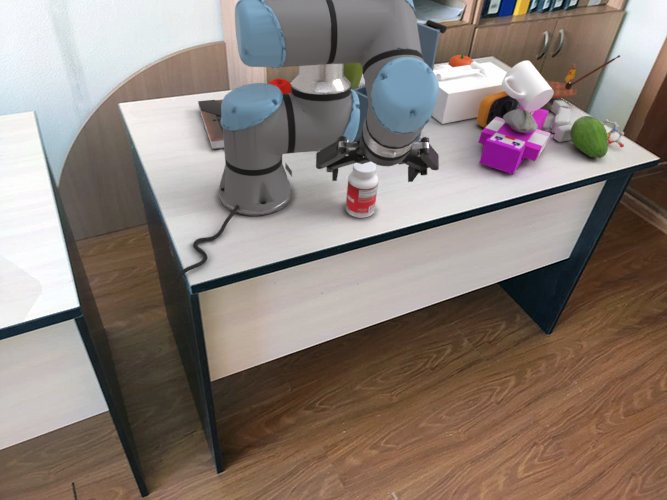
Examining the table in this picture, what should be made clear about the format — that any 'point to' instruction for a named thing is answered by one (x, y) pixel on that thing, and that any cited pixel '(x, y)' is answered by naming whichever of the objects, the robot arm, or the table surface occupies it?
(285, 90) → the apple
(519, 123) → the grey rock
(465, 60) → the pumpkin
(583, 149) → the avocado
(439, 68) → the geometric ball
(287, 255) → the table surface
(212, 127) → the picture frame
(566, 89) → the incense holder
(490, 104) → the multimeter
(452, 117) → the tissue box
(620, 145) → the molecular model
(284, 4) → the robot arm
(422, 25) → the lid
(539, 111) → the toy
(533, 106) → the mug
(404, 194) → the table surface
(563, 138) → the grey segmented bar
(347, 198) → the pill bottle
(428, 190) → the table surface
